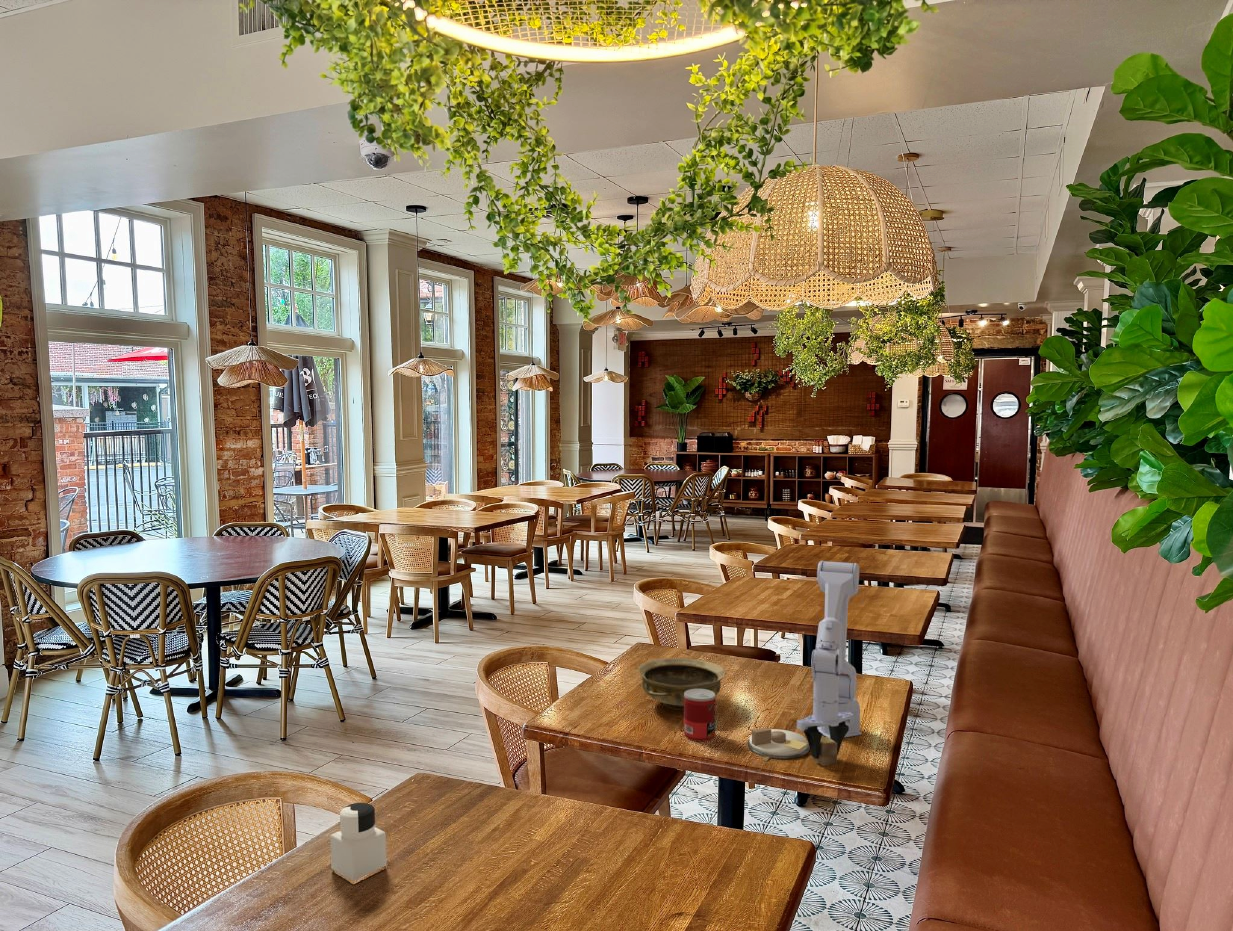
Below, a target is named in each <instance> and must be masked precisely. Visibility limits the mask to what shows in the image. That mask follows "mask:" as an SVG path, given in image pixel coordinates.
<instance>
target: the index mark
mask: <svg viewBox="0 0 1233 931" xmlns="http://www.w3.org/2000/svg"><path fill="white" fill-rule="evenodd" d="M770 759H771V758H770V757H767V756H763V758H762V759H761V761H762V762H768V761H769V760H770Z"/></svg>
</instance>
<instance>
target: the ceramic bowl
mask: <svg viewBox="0 0 1233 931" xmlns="http://www.w3.org/2000/svg"><path fill="white" fill-rule="evenodd" d="M637 669H638V670H637V672H638V674H639V676H640V677H641V686H642V687H641V688H642V689H643V690H644V692H645V694H647V696H649V697H650V698H652V699H653V700H655V701H658V702H660V703H662V704H665V706H666V707H667V708H669V709H671V710H675V711H684V693H685V691H687V690H690V689H707V690H710V691H713V692H714V693H715V696H716V697H717V696H718V694H719V692H720V691H721V686H722V685H721V684H722V683H721V681H722V680H723V679H724V677H726V676H725V675H726V671H725V670H724V669H723V667H721V665H718V664H716V663H715V662H710V661H706V660H701V659H695V658H684V657H667V658H659V659H654V660H650V661H646V662H644V663H642V664H640V666H639V667H638V668H637Z"/></svg>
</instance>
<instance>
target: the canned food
mask: <svg viewBox="0 0 1233 931" xmlns="http://www.w3.org/2000/svg"><path fill="white" fill-rule="evenodd" d="M716 697H717V695H716V696H715V693H714V692H713V691H710V690H707V689H690V690H687V691H685V693H684V710H683V734H684V737H685V738H687V739H688V740H690V739H691V741H694V740H696V741H695V742H707V741H711V740H714V739H715V736H716V711H717V710H716V709H717V708H716V706H717V705H716V704H717V703H716V701H717V698H716Z"/></svg>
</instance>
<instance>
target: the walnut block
mask: <svg viewBox="0 0 1233 931" xmlns="http://www.w3.org/2000/svg"><path fill="white" fill-rule="evenodd" d="M812 760H813V761H814V762H816V763H817V764H819V765H820V766H822V767H824V766H831V765H835V764H837V763H838V755H837V742H835V741H834V740H832V739H830V738H829V737H826V736H822V737H821V741H820V751H819V759H815V758H814V757H812Z"/></svg>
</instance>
